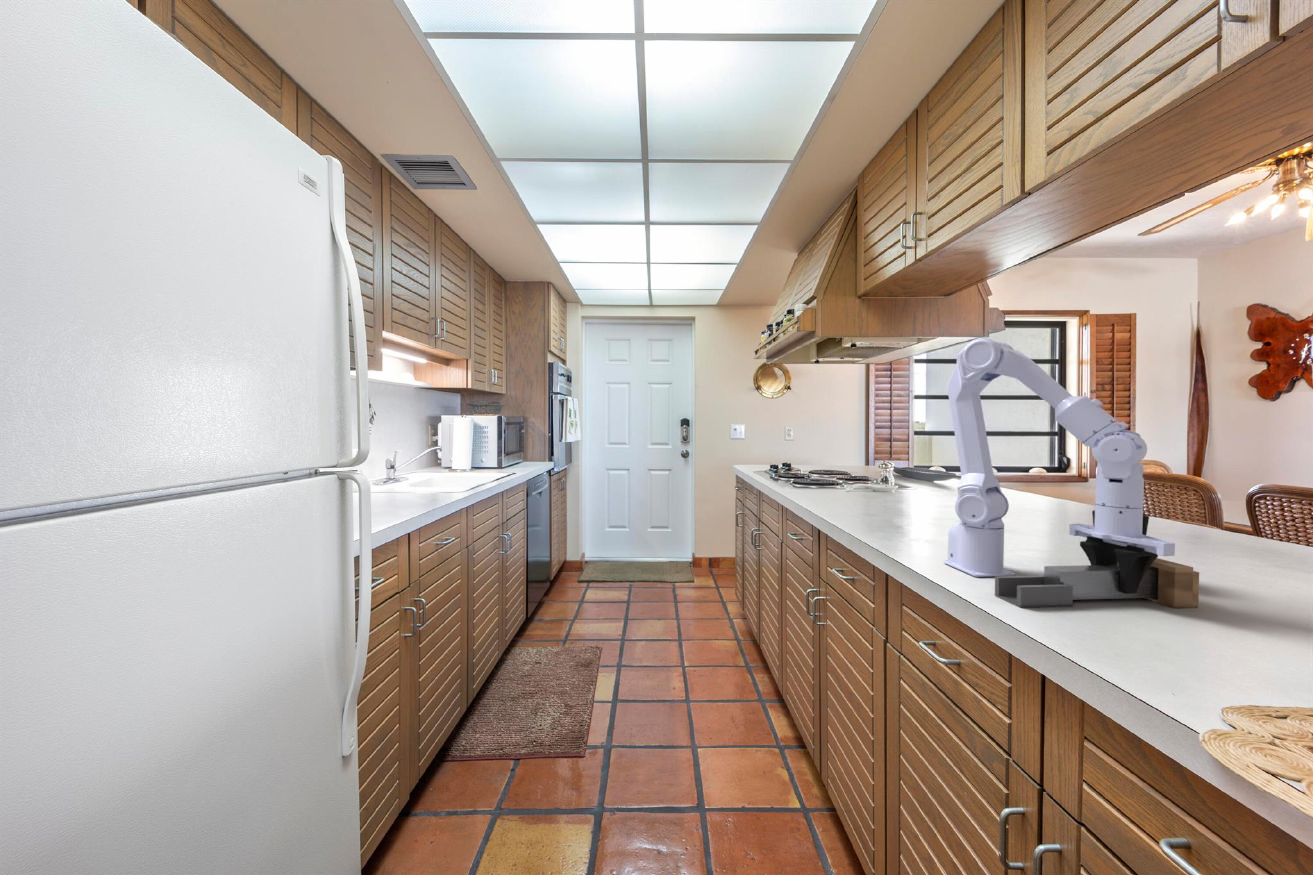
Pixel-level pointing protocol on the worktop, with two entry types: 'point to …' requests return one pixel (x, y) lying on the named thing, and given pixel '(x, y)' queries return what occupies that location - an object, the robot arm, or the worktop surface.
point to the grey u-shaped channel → (1032, 592)
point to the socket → (1176, 584)
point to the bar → (1100, 581)
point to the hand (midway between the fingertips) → (1116, 588)
